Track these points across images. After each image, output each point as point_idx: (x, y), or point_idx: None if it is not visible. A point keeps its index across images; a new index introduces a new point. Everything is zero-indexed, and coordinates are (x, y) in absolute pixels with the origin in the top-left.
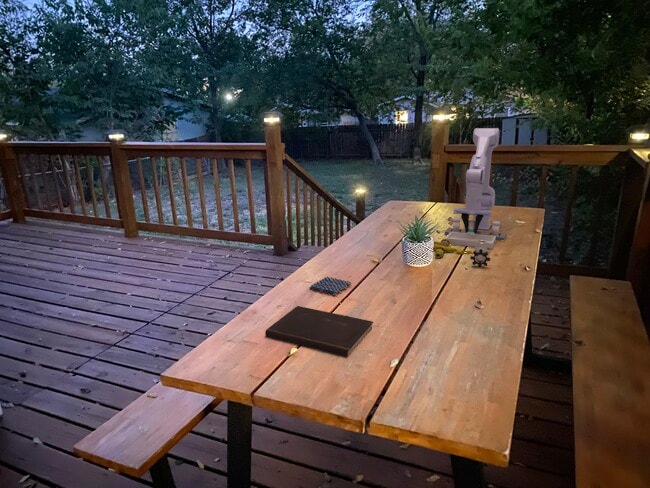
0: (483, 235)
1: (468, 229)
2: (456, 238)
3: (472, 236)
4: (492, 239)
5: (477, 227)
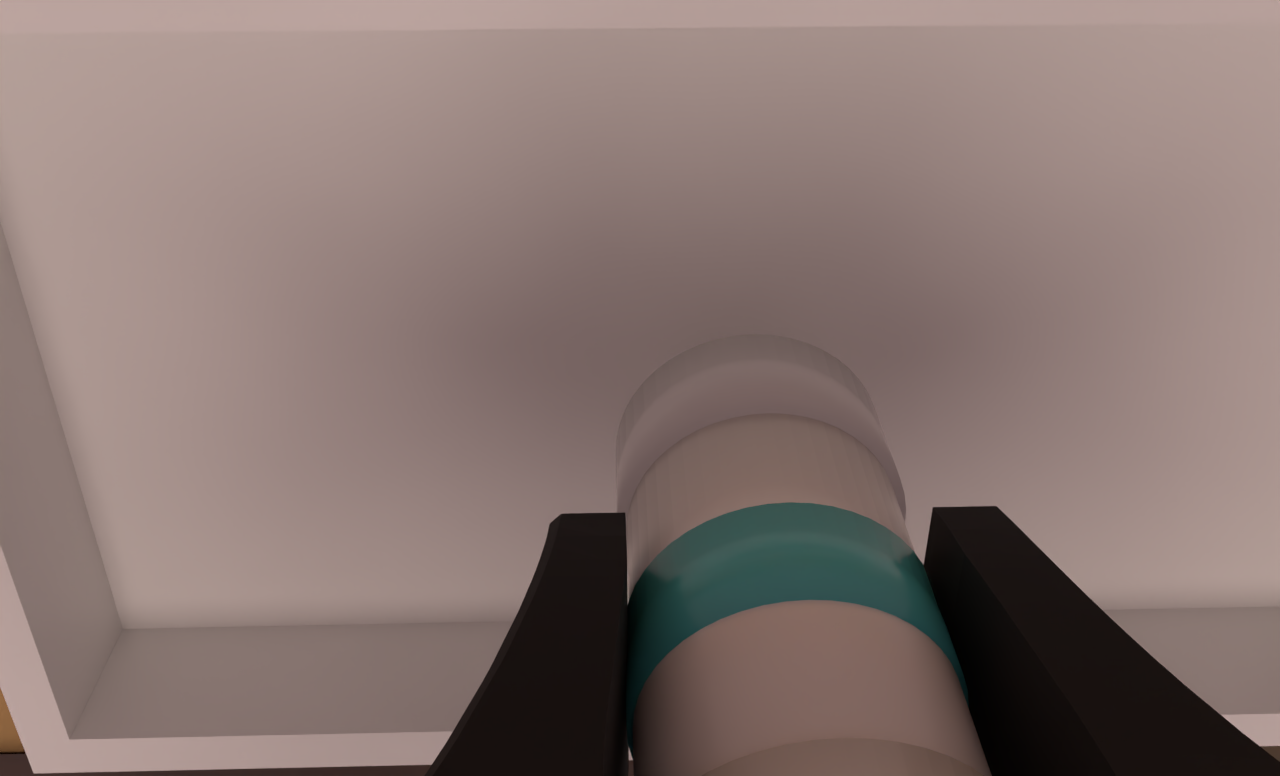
0: (398, 729)
1: (920, 601)
2: (1175, 520)
3: (687, 410)
4: (146, 664)
5: (486, 690)
